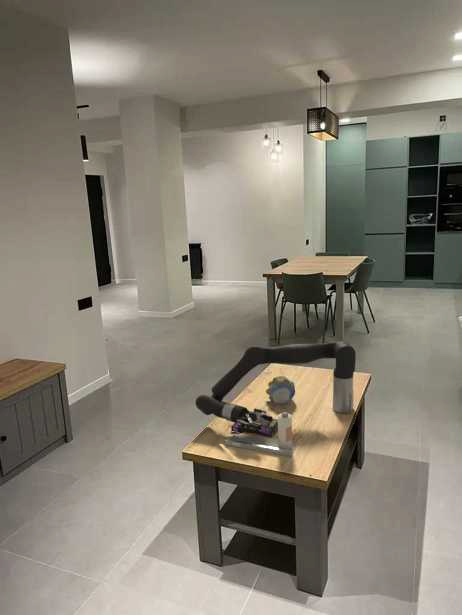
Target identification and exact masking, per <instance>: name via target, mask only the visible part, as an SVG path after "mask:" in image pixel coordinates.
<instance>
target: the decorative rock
mask: <svg viewBox="0 0 462 615" xmlns="http://www.w3.org/2000/svg"><path fill="white" fill-rule="evenodd" d="M267 386H268V388H267V389H266V390H265V393H266V394H267V395H268V399H269V401H271V402H274V403H275V404H277V405H281V404H282V405H286V404H288V403H290V402H291V400H293V398H294V396H296V386H295V383H294V381H291V380H290V379H289V378H287V377H286V376H284V375H279V376H276V377H273V378H272V380H271V381H269V382H268V383H267Z"/></svg>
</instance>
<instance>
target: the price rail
mask: <svg viewBox="0 0 462 615" xmlns="http://www.w3.org/2000/svg"><path fill="white" fill-rule="evenodd" d="M224 445H225V446H227V445H229V446H228V447H232V446H235V447H234V448H238V447H240V448H239V449H244V448H246V450H249V449H251V450H250V451H255V450H257V451H256V452H260V451H263V452H262V453H266V452H268V453H267V454H272V453H274V455H277V454H279V455H278V456H283V455H285V457H288V456H293V455H292V450H287V449H281V448H275V447H269V446H263V445H258V444H252V443H246V442H240V441H235V440H230V439H228V438H225V441H224Z"/></svg>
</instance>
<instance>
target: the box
mask: <svg viewBox="0 0 462 615" xmlns="http://www.w3.org/2000/svg"><path fill="white" fill-rule="evenodd" d="M260 417H261V416H260ZM257 418H258V415H257ZM254 422H255V423H258V424H261V429H260V430H259V429H255V428H249V429H248V430H247V429H244V428H241V427H239V426H237V423H234V422H233V424H232V425H231V426H230V430H231V431H230V432H232V431H234V432H233V433H236V432H239V433H238V434H244V433H249V434H253V435H258V436H263V437H266V438H273V437H274V436H275V435H276V433H278V418H277V419H276V418H273V421H267V420H264V419H260V420H259V421H254ZM245 426H246V425H245Z"/></svg>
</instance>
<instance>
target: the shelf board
mask: <svg viewBox="0 0 462 615" xmlns="http://www.w3.org/2000/svg"><path fill="white" fill-rule="evenodd" d="M229 438H230V439H229V440H235V441H240V442H246V443H252V444H258V445H263V446H269V447H275V448H278V440H273V439H267V438H261V437H255V436H249V435H242V434H239V433H233V434H232V435H231V437H229ZM226 446H227V447H230V446H229V445H226ZM297 446H298V444H297V443H292V456H293V454H294V452H295V450H296V449H297ZM231 447H234V448H236V447H235V446H231ZM237 448H239V449H241V448H240V447H237ZM243 449H246V448H243ZM246 450H247V449H246ZM248 450H250V451H252V450H251V449H248ZM254 451H255V452H258V451H257V450H254ZM259 452H261V453H264V452H263V451H259ZM265 453H266V454H269V453H268V452H265ZM271 454H274V453H271ZM274 455H275V454H274ZM276 455H278V456H280V455H279V454H276ZM282 456H285V455H282ZM292 456H287V457H289V458H292ZM285 457H286V456H285Z"/></svg>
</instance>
